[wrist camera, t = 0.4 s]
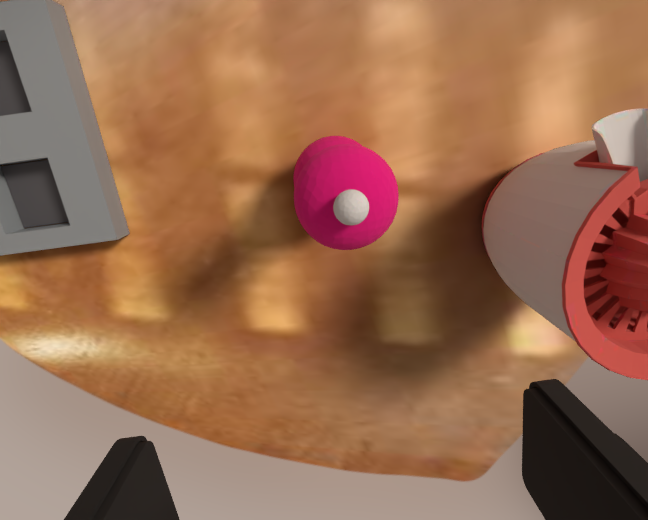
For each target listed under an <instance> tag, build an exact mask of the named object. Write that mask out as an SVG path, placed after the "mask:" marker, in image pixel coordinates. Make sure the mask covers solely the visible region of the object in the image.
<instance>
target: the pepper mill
mask: <svg viewBox="0 0 648 520" xmlns="http://www.w3.org/2000/svg"><path fill="white" fill-rule="evenodd" d="M294 188H295V189H294V206H295V210H296V214H297V216H298V219H299V221H300V223H301V225H302V226H303V228H304V229H305V231H306V232H307V233H308V234H309V235H310V236H311V237H312V238H313V239H315V240H316V241H317V242H319V243H321V244H323V245H324V246H327V247H330V248H333V249H340V250H352V249H357V248H361V247H364V246H367V245H369V244H371V243H373V242H374V241H376V240H377V239H378V238H380V237H381V236H382V235H383V234H384V233H385V232H386V230H387V229H388V228H389V226H390V225H391V223H392V222H393V219H394V217H395V214H396V211H397V206H398V185H397V182H396V179H395V176H394V174H393V172H392V170H391V168H390V167H389V165H388V164H387V163H386V162H385V160H383V159H382V158H381V157H380V156H379V155H378V154H376V153H375V152H373V151H372V150H370V149H368V148H365V147H363V146H362V145H360V144H359V143H357V142H356V141H354V140H352V139H349V138H346V137H342V136H329V137H324V138H321V139H319V140H317V141H315V142H313V143H312V144H310V145H309V146H308V147H307V148H306V149H305V150H304V151H303V152H302V154H301V155H300V157H299V159H298V160H297V163H296V166H295V170H294Z"/></svg>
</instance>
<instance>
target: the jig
mask: <svg viewBox="0 0 648 520" xmlns="http://www.w3.org/2000/svg"><path fill="white" fill-rule="evenodd" d="M2 41H5V42H2ZM42 159H48V160H43V161H35V160H42ZM28 161H35V162H28ZM21 162H28V163H21ZM13 163H21V164H14V165H6V164H13ZM1 165H6V166H1ZM65 222H69V223H65ZM57 223H63V224H57ZM50 224H56V225H50ZM42 225H48V226H42ZM35 226H41V227H35ZM28 227H34V228H28ZM25 228H26V229H25ZM128 234H130V233H129V229H128V226H127V222H126V219H125V215H124V212H123V209H122V205H121V202H120V198H119V195H118V191H117V188H116V185H115V181H114V178H113V174H112V171H111V167H110V164H109V161H108V157H107V154H106V150H105V147H104V143H103V140H102V137H101V133H100V130H99V126H98V123H97V119H96V116H95V113H94V109H93V106H92V102H91V99H90V95H89V92H88V89H87V85H86V82H85V78H84V75H83V71H82V68H81V64H80V61H79V58H78V54H77V51H76V47H75V44H74V40H73V37H72V34H71V30H70V27H69V23H68V20H67V16H66V13H65V10H64V6H62V5H60V4H58V3H56V2H54V1H52V0H10V1H3V2H0V256H1V255H8V254H15V253H23V252H30V251H38V250H45V249H53V248H60V247H68V246H75V245H82V244H90V243H97V242H105V241H112V240H118V239H120V238H122V237H124V236H126V235H128Z"/></svg>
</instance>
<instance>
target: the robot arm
mask: <svg viewBox="0 0 648 520" xmlns="http://www.w3.org/2000/svg"><path fill="white" fill-rule="evenodd" d="M522 451H523V452H522V476H523V480H524V483H525V486H526V488H527V490H528V492H529V493H530V495H531V497H532V498H533V500H534V502H535V503H536V505H537V506H538V508H539V510H540V511H541V513H542V514H543V516H544V518H545V519H546V520H648V463H647V462H646V461H645V460H644V459H643V458H642V457H641V456H640V455H639V454H638V453H637V452H636V451H635V450H634V449H633V448H632V447H630V446H629V445H628V444H627V443H626V442H625V441H624V440H623V439H622V438H620V437H619V436H618V435H617V434H614V433H613V432H612V431H611V430H610V429H609V428H608V427H607V426H605V425H604V424H603V422H601V421H600V420H599V419H598V418H597V417H596V416H595V415H594V414H593V413H592V412H591V411H590V410H589V409H588V408H587V407H586V406H585V405H584V404H583V403H582V402H581V401H580V400H579V399H578V398H577V397H576V396H575V395H574V394H572V392H570V390H568V388H566V387H565V386H564V385H563V384H562V383H561V382H560V381H559V380H557V379H551V380H544V381H537V382H532V383H531V384H530V386H529V389H526V390H525V391H524V394H523V449H522ZM64 520H179V517H178V514H177V511H176V508H175V505H174V502H173V499H172V496H171V493H170V491H169V488H168V485H167V482H166V479H165V476H164V473H163V470H162V467H161V464H160V462H159V459H158V456H157V453H156V450H155V447H154V445H153V443H152V442H151V441H147V440H146V438H145V437H144V436H137V437H129V438H122V439H119V440H117V441H116V442H115V443H114V445H113V446H112V448H111V449H110V451H109V452H108V454H107V455H106V457H105V458H104V460H103V461H102V463H101V464H100V466H99V467H98V469H97V470H96V472H95V473H94V475H93V476H92V478H91V479H90V481H89V482H88V484H87V486H86V487H85V489H84V490H83V492H82V493H81V495H80V496H79V498H78V499H77V501H76V502H75V504H74V505H73V507H72V508H71V510H70V511H69V513H68V514H67V516H66V517H65V519H64Z"/></svg>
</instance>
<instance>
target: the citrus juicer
mask: <svg viewBox="0 0 648 520" xmlns="http://www.w3.org/2000/svg"><path fill="white" fill-rule="evenodd" d="M592 131H593V135H594V141H585V142H580V143H576V144H571V145H567V146H563V147H560V148H556V149H553V150H550V151H548V152H546V153H542V154H539V155H537V156H534V157H532V158H530V159H527V160H526V161H524V162H523V163H521V164H520V165H518V166H517V167H515V168H514V169H512V170H511V171H510V172H509V173H508V174H507V175H506V176H505V177H503V178H502V179H501V180H500V181H499V182H498V184H497V185H496V186H495V188H494V189H493V190H492V192H491V194H490V196H489V198H488V200H487V201H486V204H485V208H484V211H483V216H482V237H483V243H484V246H485V249H486V253H487V255H488V257H489V258H490V260H491V262H492V264H493V265H494V267H495V269H496V270H497V272H498V274H499V275H500V277H501V278H502V279H503V281H504V282H505V283H506V285H507V286H508V287H509V288H510V289H511V290H512V291H513V292H514V293H515V294H516V295H517V296H518V297H519V298H520V299H522V300H523V301H524V302H525V303H526V304H527V305H528V306H530V307H531V308H532V309H534V310H535V311H536V312H538V313H539V314H540V315H542V316H543V317H544V318H546V319H547V320H548V321H549V322H551V323H552V324H553V325H555V326H556V327H557V328H559V329H560V330H561V331H563V332H564V333H565V334H567V335H568V336H569V337H571V338H572V339H573V340H574V341H576V342H577V344H578V346H579V347H580V348H581V349H582V350H583V351H584V352H585V353H586V354H587V355H588V356H589V357H590V358H591V359H592V360H594V361H595V362H597V363H598V364H600V365H601V366H603V367H604V368H606V369H608V370H610V371H613V372H615V373H618V374H621V375H624V376H627V377H630V378H636V379H644V380H648V109H632V110H626V111H622V112H618V113H615V114H612V115H609V116H607V117H605V118H602V119H601V120H599V121H597V122H596V123H594V124H593V125H592Z"/></svg>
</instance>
